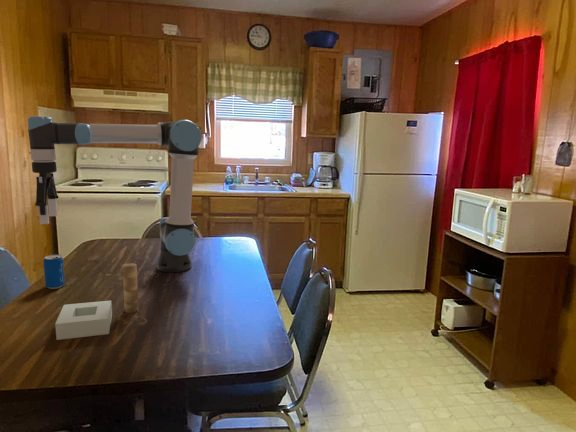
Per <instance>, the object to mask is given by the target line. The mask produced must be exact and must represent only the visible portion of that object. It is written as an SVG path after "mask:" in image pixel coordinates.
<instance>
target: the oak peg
mask: <svg viewBox="0 0 576 432" xmlns="http://www.w3.org/2000/svg"><path fill="white" fill-rule="evenodd" d="M137 270H138V267H137V263H124V264H123V265H122V282H123V284H122V285H123V300H124V301H123V303H124V304H123V305H124V312H125V313H127V314H133V313H134V314H135V313H136V311H137V312H138V311H139V292H138V291H139V289H138V271H137Z"/></svg>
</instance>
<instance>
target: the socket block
mask: <svg viewBox="0 0 576 432" xmlns="http://www.w3.org/2000/svg"><path fill="white" fill-rule="evenodd" d="M112 317H113V305H112V300H104V301H92V302H81V303H79V302H78V303H68V304H63V306H62V308H61V310H60V312H59V314H58V316H57V319H56V321H55V324H54V326H55V327H54V328H55V336H56V337H55V338H56V341H58V340H59V341H60V340H70V339H77V338H86V337H93V336H95V337H96V336H104V335H110V330H111V329H110V328H111V324H112Z"/></svg>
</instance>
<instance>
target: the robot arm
mask: <svg viewBox="0 0 576 432" xmlns="http://www.w3.org/2000/svg"><path fill="white" fill-rule="evenodd" d="M27 128H28V129H27V132H28V141H29V149H30V151H28V154H29V155H30V157H31V158H30V159H31V161H32V162H31V171H32V173H34V174H38V176H36V177H35V178H36V194H35V195H36V197H35V203H34V206H35V207H38V216H39V217H38V219H39V224H40V225H49V224H50V218H49V217H58V205H57V199H59V195H58V193H57V192H58V191H57V188H56V182H55V179H54V178H55V177H54V173H56V172H57V168H58V167H57V162H56V160H57V157H56V155H57V154H56V149H55V145H77V146H78V145H79V146H82V145H90V144H157V145H159V147H163V146H164V147H168V148H167V153H168V155H169V156H170V157H171V167H170V169H171V171H170V173H171V174H170V187H169V188H170V189H169V190H170V191H169V193H170V194H169V208H168V209H169V210H168V211H169V213H168V214H169V215H168V216H166V217H160V218H159V225H158V226H159V237H160V238H159V239H160V240H159V241H160V242H159V244H160V245H159V246H160V248H159V249H160V251H159V255H158V258H157V261H156V270H158V271H159V272H163V273H181V272H185V271H188V270H190V269H191V268H192V267H193V266H192V264H193V263H192V259H191V256H190V253H191V252H192V251H193V249H194V248H195V245H196V235H195V234H194V233H195V231H194V230H195V221H194V219H192V216H191V215H192V204H193V203H192V202H193V201H192V199H193V182H194V181H193V179H194V164H195V159H196V158H198V156H199V146H200V144H201V143H202V131H201V129H200V127H199V126H198V125H197V124H196V123H195V122H193V121H191V120H189V119H177V120H173V121H166V122H165V121H164V122H160V121H159V122H157V123H156V124H131V123H130V124H129V123H128V124H127V123H126V124H124V123H123V124H122V123H121V124H119V123H81V122H80V123H79V122H74V123H73V122H54V121H53V117H51V116H35V115H32V116H29V117H28V118H27Z"/></svg>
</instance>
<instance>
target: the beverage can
mask: <svg viewBox="0 0 576 432" xmlns="http://www.w3.org/2000/svg"><path fill="white" fill-rule="evenodd" d="M43 270H44V272H43V273H44V283H45V287H46V288H48V289H50V290H55V289H60V288H63V286H64V285H66V282H65V280H66V279H65V269H64V258H63V257H62V255H61V254H50V255H46V256H44V259H43Z"/></svg>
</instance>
